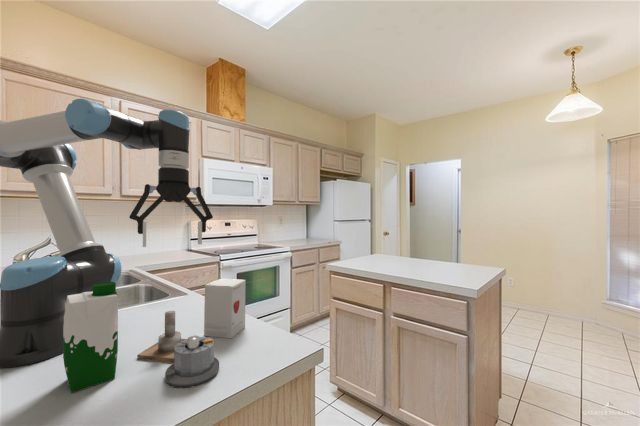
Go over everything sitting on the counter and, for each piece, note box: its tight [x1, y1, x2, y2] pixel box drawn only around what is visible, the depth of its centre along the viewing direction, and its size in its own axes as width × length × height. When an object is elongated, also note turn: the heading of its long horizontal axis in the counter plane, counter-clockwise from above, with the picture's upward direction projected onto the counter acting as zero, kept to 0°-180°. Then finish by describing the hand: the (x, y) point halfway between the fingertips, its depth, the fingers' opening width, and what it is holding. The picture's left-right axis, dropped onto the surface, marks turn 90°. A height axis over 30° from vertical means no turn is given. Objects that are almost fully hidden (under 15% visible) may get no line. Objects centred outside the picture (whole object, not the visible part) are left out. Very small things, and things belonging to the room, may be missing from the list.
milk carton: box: [62, 282, 119, 394], centre depth 61 cm, size 9×9×20 cm
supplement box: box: [203, 278, 247, 339], centre depth 86 cm, size 9×9×15 cm
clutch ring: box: [173, 336, 215, 377], centre depth 64 cm, size 8×8×5 cm
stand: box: [136, 310, 187, 364], centre depth 73 cm, size 10×10×10 cm
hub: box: [164, 335, 220, 389], centre depth 64 cm, size 11×11×8 cm
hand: (173, 245), depth 79 cm, fingers open, 13 cm apart
